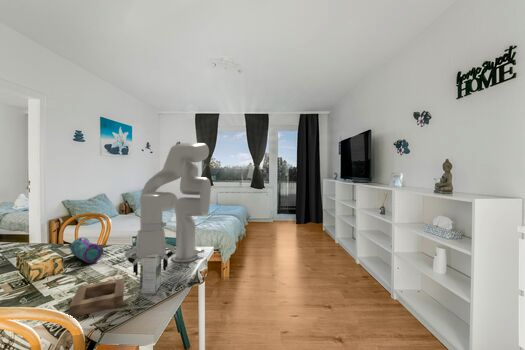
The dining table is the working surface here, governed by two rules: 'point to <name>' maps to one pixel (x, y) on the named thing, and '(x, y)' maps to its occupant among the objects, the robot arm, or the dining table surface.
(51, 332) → the dining table surface
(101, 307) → the walnut collar
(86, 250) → the pencil case
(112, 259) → the dining table surface
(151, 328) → the dining table surface
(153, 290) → the syrup box
